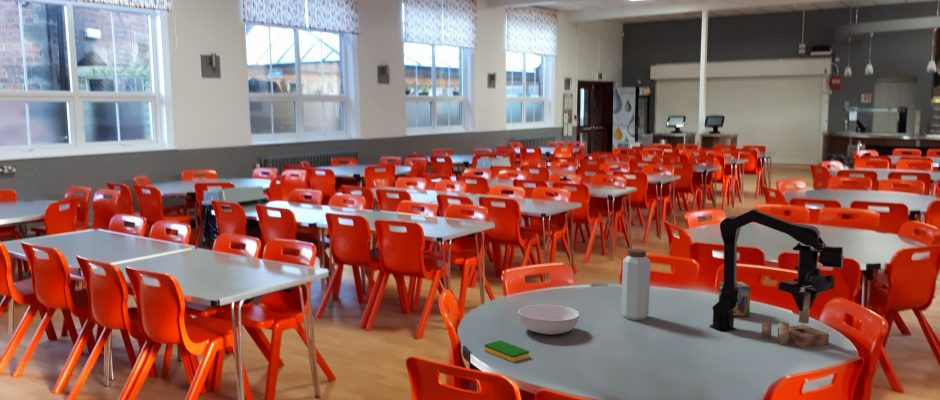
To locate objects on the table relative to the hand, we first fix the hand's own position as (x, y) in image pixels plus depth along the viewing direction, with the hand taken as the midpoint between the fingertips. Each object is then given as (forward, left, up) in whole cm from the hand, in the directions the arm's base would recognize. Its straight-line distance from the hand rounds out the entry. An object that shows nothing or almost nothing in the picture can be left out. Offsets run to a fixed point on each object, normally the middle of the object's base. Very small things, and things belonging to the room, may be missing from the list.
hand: (804, 310), depth 248 cm
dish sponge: (-98, +23, -11) cm, 101 cm away
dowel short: (-8, +7, -11) cm, 15 cm away
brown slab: (0, 0, -11) cm, 11 cm away
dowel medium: (-8, 0, -11) cm, 13 cm away
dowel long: (0, 0, -4) cm, 4 cm away
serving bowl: (-74, +40, -11) cm, 85 cm away
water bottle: (-36, +44, -11) cm, 58 cm away
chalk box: (+2, +35, -11) cm, 37 cm away
